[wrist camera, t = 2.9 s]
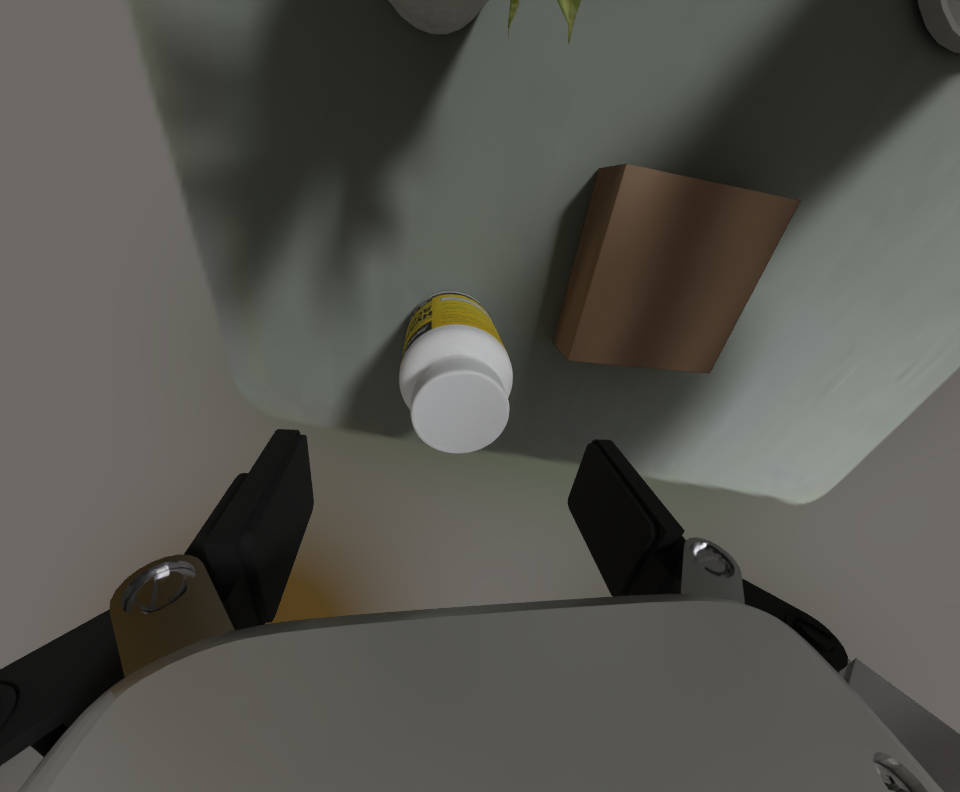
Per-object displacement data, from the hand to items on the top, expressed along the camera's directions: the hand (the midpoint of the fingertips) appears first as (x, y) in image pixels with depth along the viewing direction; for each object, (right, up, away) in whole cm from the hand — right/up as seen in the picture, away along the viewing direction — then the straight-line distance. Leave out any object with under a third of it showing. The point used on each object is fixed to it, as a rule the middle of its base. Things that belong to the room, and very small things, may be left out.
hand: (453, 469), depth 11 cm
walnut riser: (+11, +10, +10) cm, 18 cm away
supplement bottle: (-1, +7, +11) cm, 13 cm away
